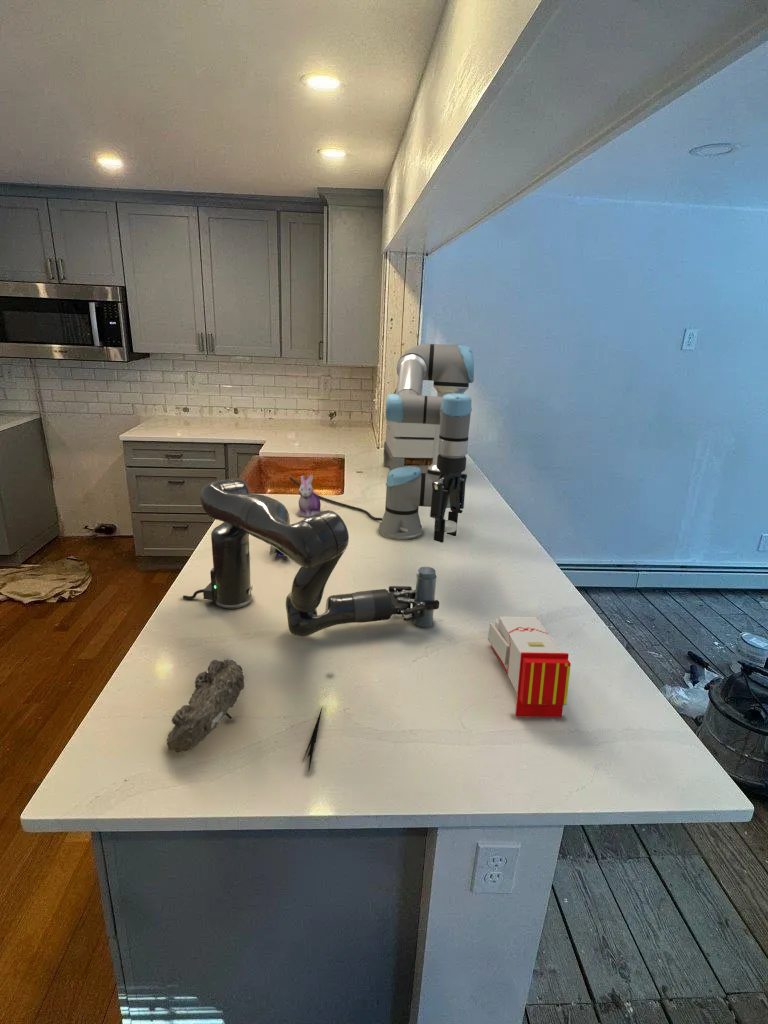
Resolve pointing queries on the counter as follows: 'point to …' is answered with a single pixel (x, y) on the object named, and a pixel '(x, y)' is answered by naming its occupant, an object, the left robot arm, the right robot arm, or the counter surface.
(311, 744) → the feather
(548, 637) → the toy
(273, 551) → the figurine character
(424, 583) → the jar
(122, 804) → the counter surface
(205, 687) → the fossil
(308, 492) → the figurine
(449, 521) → the lid
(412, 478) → the right robot arm
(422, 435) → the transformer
